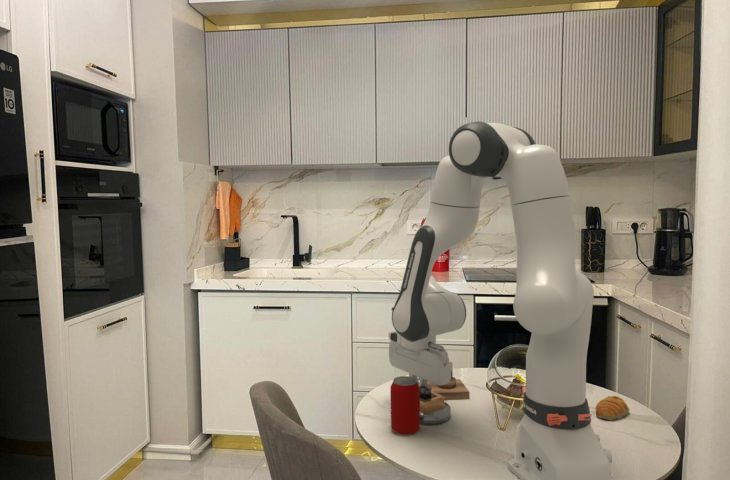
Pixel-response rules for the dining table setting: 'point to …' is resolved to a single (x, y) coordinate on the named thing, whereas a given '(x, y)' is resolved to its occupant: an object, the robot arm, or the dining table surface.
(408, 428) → the beverage can
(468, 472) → the dining table surface
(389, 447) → the dining table surface
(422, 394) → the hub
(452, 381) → the walnut stand
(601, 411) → the pastry
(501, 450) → the dining table surface
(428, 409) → the wooden square frame
